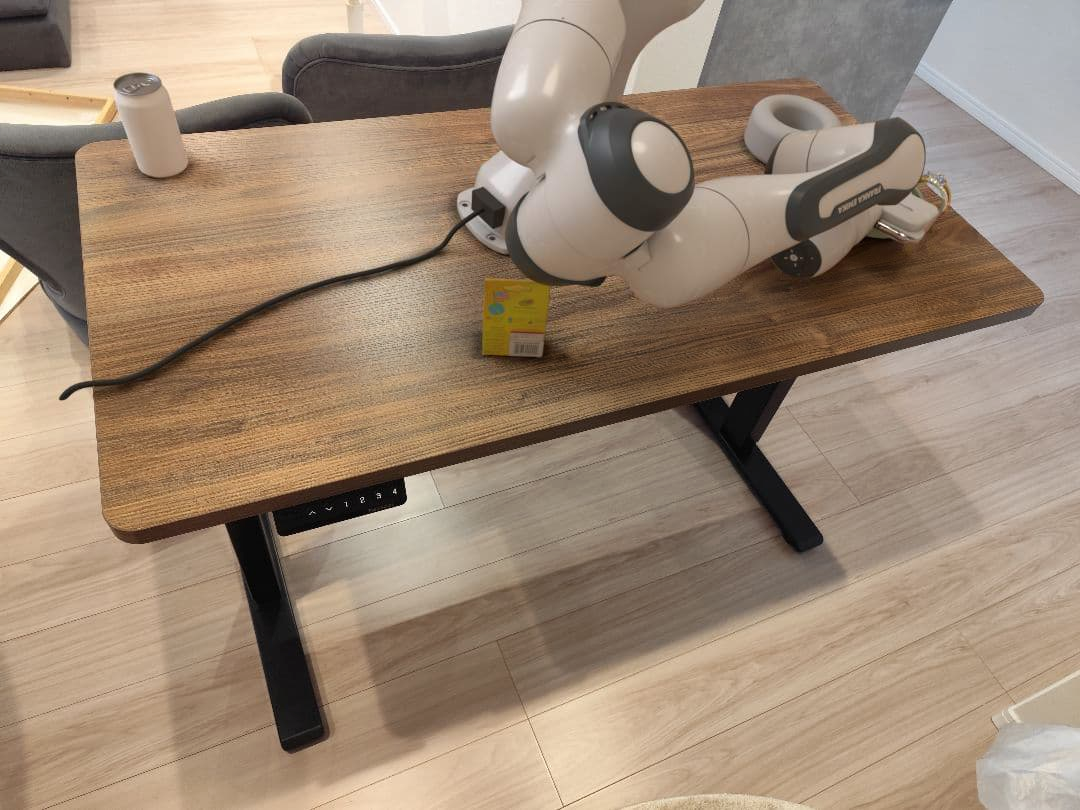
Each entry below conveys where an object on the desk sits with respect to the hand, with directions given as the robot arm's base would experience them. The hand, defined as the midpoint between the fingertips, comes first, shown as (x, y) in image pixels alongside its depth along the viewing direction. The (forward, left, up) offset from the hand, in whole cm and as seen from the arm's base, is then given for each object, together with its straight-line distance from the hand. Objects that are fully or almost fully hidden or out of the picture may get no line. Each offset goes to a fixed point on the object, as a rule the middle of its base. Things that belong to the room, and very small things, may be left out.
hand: (885, 175), depth 111 cm
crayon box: (-66, -2, -7) cm, 66 cm away
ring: (+5, -5, -6) cm, 10 cm away
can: (-93, +49, -6) cm, 105 cm away
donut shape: (-1, +18, -6) cm, 19 cm away
